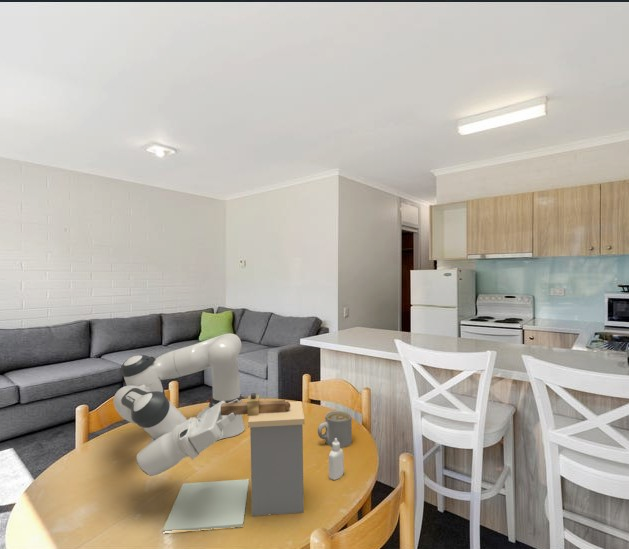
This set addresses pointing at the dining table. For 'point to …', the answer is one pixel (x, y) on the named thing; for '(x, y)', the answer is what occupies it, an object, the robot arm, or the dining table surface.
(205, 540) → the dining table surface
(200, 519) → the sage mat
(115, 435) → the dining table surface
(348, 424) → the coffee mug
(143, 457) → the robot arm
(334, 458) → the eye dropper bottle
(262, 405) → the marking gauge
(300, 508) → the stand
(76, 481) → the dining table surface
